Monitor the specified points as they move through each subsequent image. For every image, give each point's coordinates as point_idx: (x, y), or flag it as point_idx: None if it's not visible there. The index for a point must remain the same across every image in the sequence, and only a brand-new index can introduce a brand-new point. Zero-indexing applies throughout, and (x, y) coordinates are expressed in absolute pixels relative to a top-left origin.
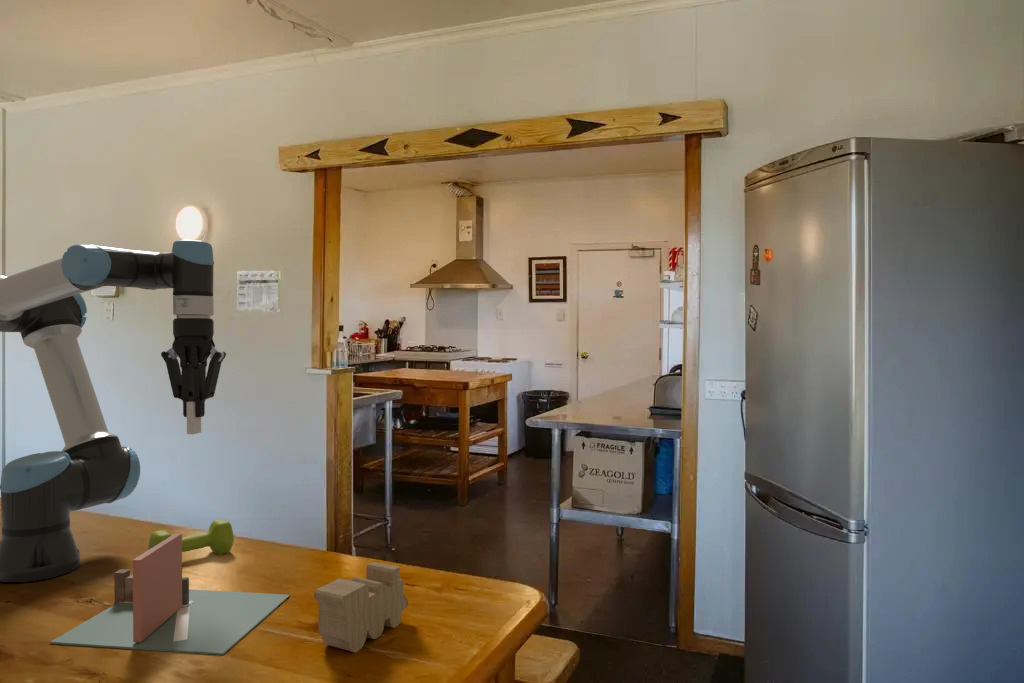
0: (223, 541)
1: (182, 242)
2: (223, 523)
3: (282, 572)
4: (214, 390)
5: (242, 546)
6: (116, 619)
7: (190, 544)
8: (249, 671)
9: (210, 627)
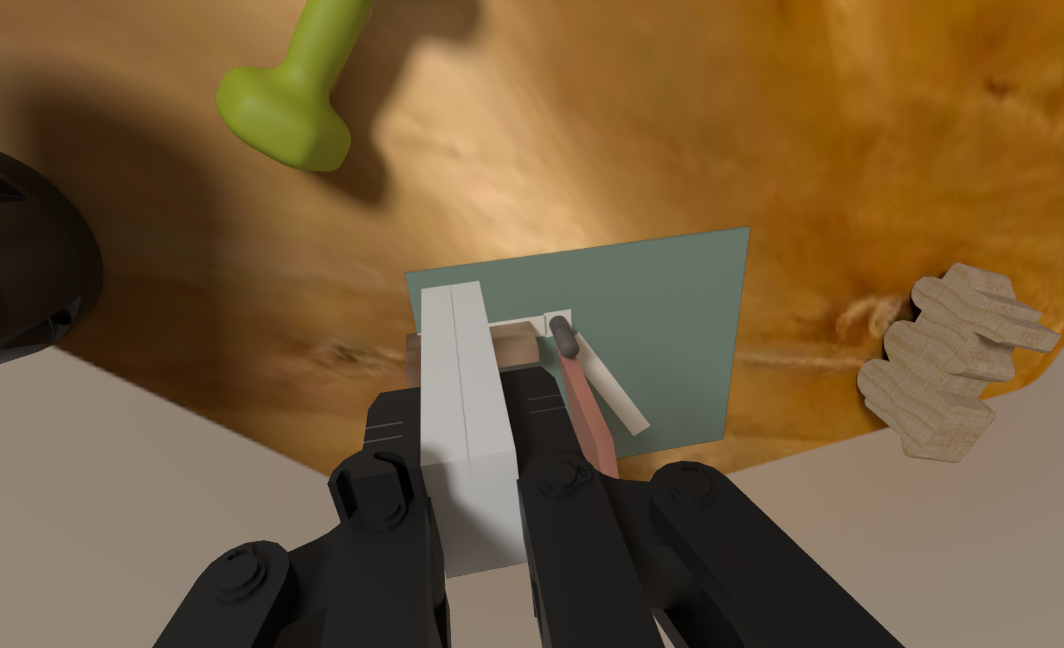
0: None
1: None
2: None
3: (677, 82)
4: (776, 540)
5: None
6: None
7: (347, 57)
8: (772, 455)
9: (664, 385)
